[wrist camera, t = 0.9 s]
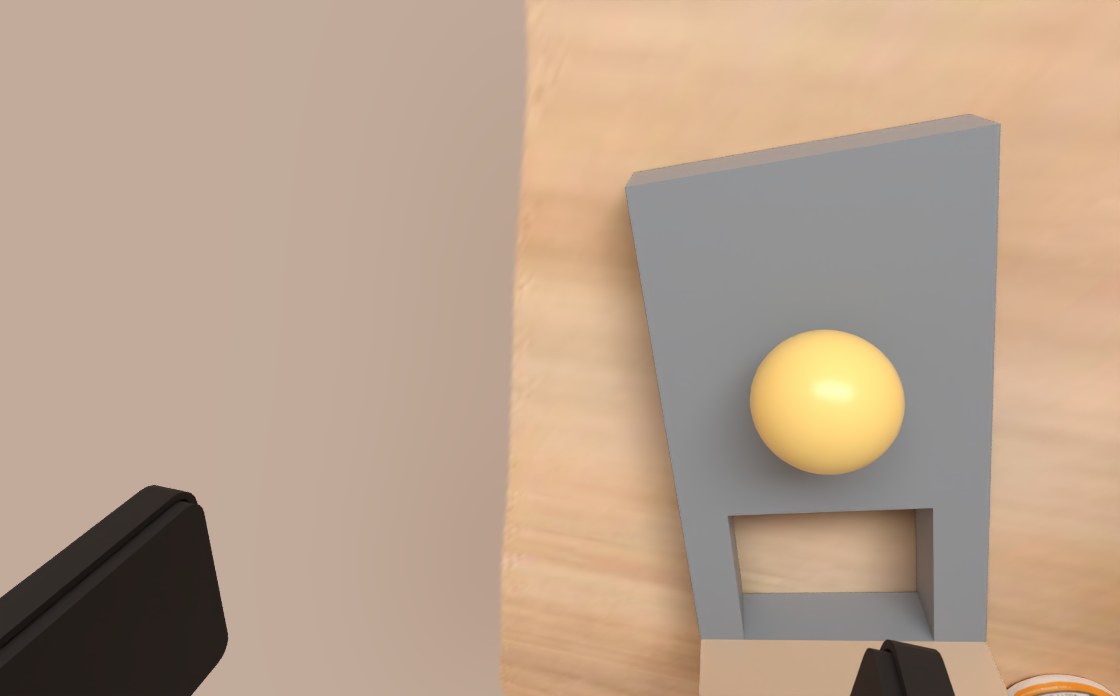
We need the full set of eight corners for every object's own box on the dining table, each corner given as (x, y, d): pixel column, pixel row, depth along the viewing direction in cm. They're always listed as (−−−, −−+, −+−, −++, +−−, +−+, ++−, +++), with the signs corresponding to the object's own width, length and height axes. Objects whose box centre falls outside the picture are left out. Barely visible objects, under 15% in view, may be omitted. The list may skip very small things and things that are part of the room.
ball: (885, 301, 25) (921, 359, 20) (889, 423, 27) (923, 501, 22) (740, 317, 26) (744, 375, 22) (754, 432, 28) (760, 508, 23)
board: (969, 113, 24) (1046, 138, 19) (963, 632, 33) (1014, 759, 27) (634, 172, 28) (611, 208, 22) (708, 631, 36) (706, 743, 31)
